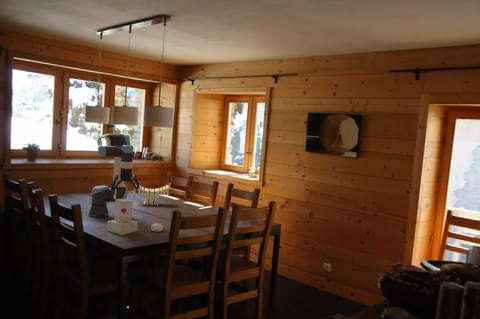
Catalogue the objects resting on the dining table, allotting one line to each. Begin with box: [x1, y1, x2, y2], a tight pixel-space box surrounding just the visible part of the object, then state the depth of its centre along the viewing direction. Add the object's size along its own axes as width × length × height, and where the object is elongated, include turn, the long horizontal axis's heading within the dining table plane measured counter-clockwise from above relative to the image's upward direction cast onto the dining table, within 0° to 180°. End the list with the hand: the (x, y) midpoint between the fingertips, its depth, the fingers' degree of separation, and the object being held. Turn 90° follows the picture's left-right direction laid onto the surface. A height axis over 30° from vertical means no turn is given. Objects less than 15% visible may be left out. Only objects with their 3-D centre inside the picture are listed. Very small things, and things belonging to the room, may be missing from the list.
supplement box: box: [113, 198, 134, 223], centre depth 280 cm, size 9×9×15 cm
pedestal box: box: [107, 219, 139, 236], centre depth 281 cm, size 14×14×7 cm
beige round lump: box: [150, 222, 164, 233], centre depth 290 cm, size 8×8×4 cm
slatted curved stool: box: [135, 184, 170, 206], centre depth 384 cm, size 30×16×18 cm, turn 104°
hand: (124, 198), depth 280 cm, fingers open, 13 cm apart
